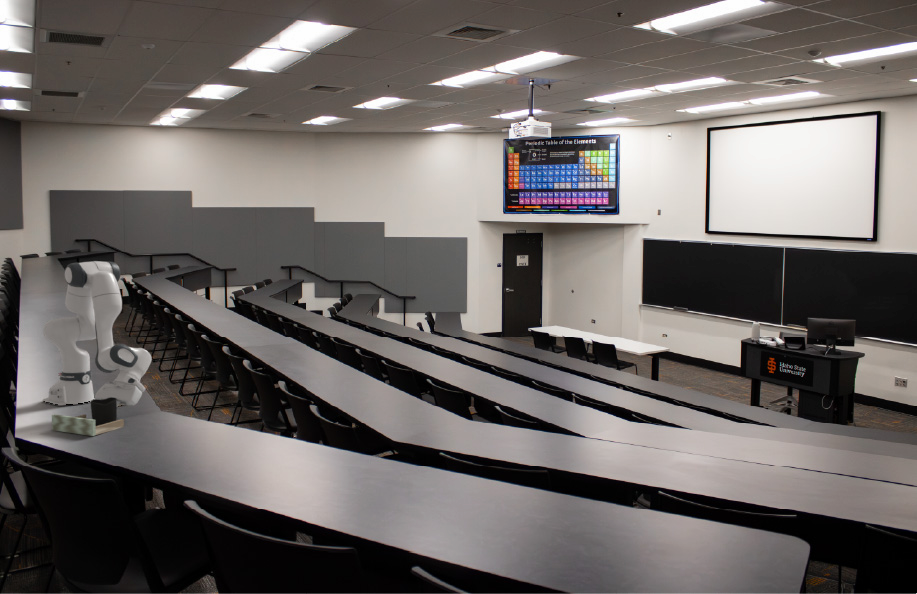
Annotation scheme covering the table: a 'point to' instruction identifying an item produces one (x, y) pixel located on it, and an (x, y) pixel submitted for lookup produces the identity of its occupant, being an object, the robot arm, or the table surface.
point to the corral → (82, 425)
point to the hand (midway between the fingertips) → (107, 411)
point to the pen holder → (104, 410)
